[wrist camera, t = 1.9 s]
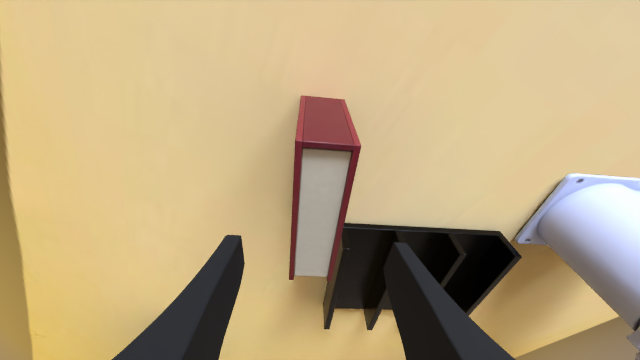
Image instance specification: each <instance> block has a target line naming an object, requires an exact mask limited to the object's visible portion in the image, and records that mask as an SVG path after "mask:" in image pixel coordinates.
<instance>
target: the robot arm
mask: <svg viewBox="0 0 640 360" xmlns="http://www.w3.org/2000/svg"><path fill="white" fill-rule="evenodd" d="M515 241H516V242H517V243H519V244H539V245H548V246H549V247H550V248H551V249H552V250H553V251H554V252H555V253H556V254H557V255H559V256H560V257H561V258H562V259H563V260H564V261H565V262H566V263H567V264H568V265H569V266H570V267H571V268H572V269H573V270H574V271H575V272H576V273H577V274H578V275H579V276H580V277H581V278H582V279H583V280H584V281H585V282H586V283H587V284H588V285H589V286H590V287H591V288H592V289H593V290H594V291H595V292H596V293H597V294H598V295H599V296H600V297H601V298H602V299H603V300H604V301H605V302H606V303H607V304H608V305H609V306H610V307H611V308H612V309H613V310H614V311H615V312H616V313H617V314H618V315H619V316H620V317H621V318H622V319H623V320H624V321H625V322H626V323H627V324H628V325H629V326H630V327H631V328H632V329H633V330H634V331H635V332H633V333H632V334H630V335H628V336H627V339H628V340H629V341H630V342H631V343H632V344H633V345H634V346H635V347H636V348H637V349H638V350H639V351H638V352H637V353H636V357H635V360H640V178H629V177H616V176H602V175H589V174H575V173H573V174H569V175H567V176H566V177H565V178H564V179H563V180H562V181H561V182H560V184H559V185H558V186H557V187H556V188H555V190H554V191H553V192H552V193H551V195H550V196H549V197H548V198H547V199H546V201H545V202H544V203H543V204H542V205H541V207H540V208H539V209H538V210H537V212H536V213H535V214H534V215H533V216H532V218H531V219H530V220H529V221H528V222H527V224H526V225H525V226H524V227H523V229H522V230H521V231H520V232H519V233H518V235H517V236H516V237H515ZM244 264H245V263H244V255H243V247H242V239H241V236H239V235H227V236H225V238H224V239H223V241H222V242H221V243H220V245H219V246H218V248H217V249H216V250H215V252H214V253H213V254H212V256H211V257H210V258H209V260H208V261H207V262H206V264H205V265H204V266H203V267H202V269H201V270H200V271H199V272H198V274H197V275H196V276H195V277H194V278H193V280H192V281H191V282H190V283H189V284H188V285H187V287H186V288H185V289H184V290H183V291H182V292H181V293H180V294H179V296H178V297H177V298H176V299H175V300H174V301H173V302H172V303H171V304H170V305H169V306H168V307H167V308H166V309H165V311H164V312H163V313H162V314H161V315H160V316H159V317H158V318H157V319H156V320H155V321H154V322H153V323H152V324H150V325H149V326H148V327H147V328H146V329H145V330H144V331H143V332H142V333H141V334H140V335H139V336H138V337H137V338H136V339H135V340H134V341H132V342H131V343H130V344H129V345H128V346H127V347H126V348H125V349H124V350H122V351H121V352H120V353H119V354H118V355H117V356H115V357H114V358H113V359H112V360H218V359H219V355H220V350H221V346H222V343H223V339H224V336H225V333H226V329H227V326H228V323H229V320H230V317H231V314H232V310H233V307H234V304H235V301H236V298H237V294H238V291H239V288H240V284H241V279H242V274H243V269H244ZM383 270H384V276H385V282H386V287H387V292H388V295H389V299H390V302H391V306H392V309H393V312H394V316H395V319H396V323H397V326H398V329H399V333H400V336H401V339H402V343H403V347H404V351H405V356H406V360H515V359H514V358H513V357H512V356H511V355H509V354H508V353H507V352H506V351H505V350H504V349H503V348H502V347H500V346H499V345H498V344H497V343H496V342H495V341H494V340H493V339H491V338H490V337H489V336H488V335H487V334H486V333H485V332H484V331H483V330H482V329H481V328H480V327H479V326H478V325H477V324H476V323H475V322H474V321H473V320H472V319H471V318H470V317H469V316H468V315H467V314H466V313H465V312H464V311H463V310H462V309H461V308H460V307H459V306H458V305H457V304H456V303H455V302H454V300H453V299H452V298H451V297H450V296H449V295H448V294H447V293H446V291H445V290H444V289H443V288H442V287H441V286H440V284H439V283H438V282H437V281H436V280H435V278H434V277H433V276H432V275H431V274H430V272H429V271H428V270H427V269H426V267H425V266H424V265H423V264H422V262H421V261H420V260H419V259H418V257H417V256H416V255H415V253H414V252H413V251H412V250H411V248H410V247H409V246H408V245H407V243H396V242H394V243H393V246H392V248H391V251H390V253H389V256H388V258H387V261H386V263H385V265H384V268H383Z"/></svg>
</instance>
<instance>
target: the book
mask: <svg viewBox="0 0 640 360" xmlns="http://www.w3.org/2000/svg"><path fill="white" fill-rule="evenodd" d="M360 149H361V144H360V141H359V139H358V136H357V133H356V130H355V128H354V125H353V122H352V119H351V117H350V114H349V111H348V108H347V106H346V103H345V100H343V99H332V98H321V97H311V96H301V100H300V108H299V116H298V124H297V132H296V140H295V159H294V181H293V203H292V225H291V247H290V269H289V280H294V276H319V277H327V281H332V276H333V272H334V267H335V263H336V258H337V254H338V249H339V245H340V240H341V235H342V231H343V226H344V222H345V217H346V213H347V208H348V204H349V199H350V195H351V190H352V185H353V181H354V176H355V172H356V167H357V163H358V158H359V154H360Z"/></svg>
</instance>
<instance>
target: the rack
mask: <svg viewBox="0 0 640 360" xmlns="http://www.w3.org/2000/svg"><path fill="white" fill-rule="evenodd" d="M394 242H396V243H407V245H408V246H409V247H410V248H411V250H412V251H413V252H414V253H415V255H416V256H417V257H418V259H419V260H420V261H421V262H422V264H423V265H424V266H425V267H426V269H427V270H428V271H429V272H430V274H431V275H432V276H433V277H434V278H435V280H436V281H437V282H438V283H439V284H440V286H441V287H442V288H443V289H444V290H445V291H446V293H447V294H448V295H449V296H450V297H451V298H452V299H453V300H454V302H455V303H456V304H457V305H458V306H459V307H460V308H461V309H462V310H463V311H464V312H465V313H466V314H467V315H468V316H469V315H470V314H471V313H472V311H473V310H474V309H475V308H476V307H477V306H478V305H479V304H480V303H481V302H482V300H483V299H484V298H485V297H486V296H487V295H488V294H489V293H490V292H491V291H492V289H493V288H494V287H495V286H496V285H497V284H498V283H499V282H500V281H501V280H502V278H503V277H504V276H505V275H506V274H507V273H508V272H509V271H510V270H511V269H512V267H513V266H514V265H515V264H516V263H517V262H518V261H519V260H520V259H521V258H522V257H521V255H520V254H519V253H518V252H517V251H516V250H515V248H514V247H513V246H512V245H511V244H510V242H509V241H508V240H507V239H506V238H505V237H504V236H503V234H502V233H501V232H500V231H484V230H465V229H446V228H427V227H408V226H389V225H370V224H351V223H344V226H343V231H342V235H341V240H340V245H339V249H338V254H337V258H336V263H335V267H334V272H333V276H332V281H328V283H327V287H326V292H325V297H324V302H323V312H324V329H329V328H330V324H331V320H332V317H333V313H334V309H335V308H345V309H364V314H365V320H366V326H367V330H372V329H373V327H374V325H375V323H376V321H377V319H378V317H379V315H380V313H381V310H382V309H387V310H393V309H392V306H391V302H390V299H389V295H388V292H387V287H386V282H385V276H384V270H383V268H384V265H385V263H386V261H387V258H388V256H389V253H390V251H391V248H392V246H393V243H394Z"/></svg>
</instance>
